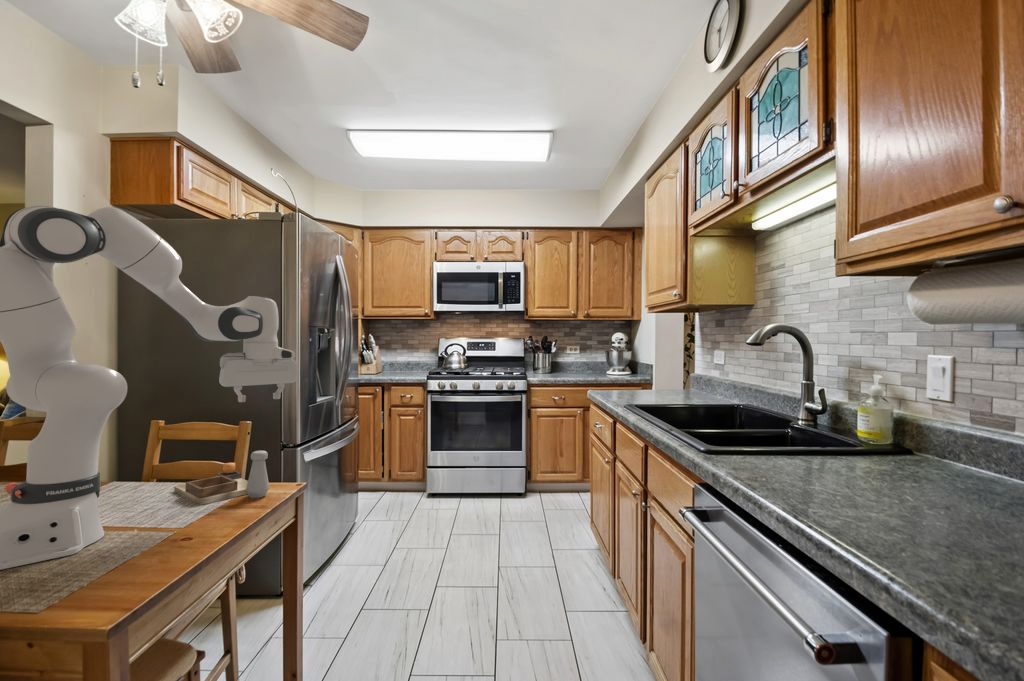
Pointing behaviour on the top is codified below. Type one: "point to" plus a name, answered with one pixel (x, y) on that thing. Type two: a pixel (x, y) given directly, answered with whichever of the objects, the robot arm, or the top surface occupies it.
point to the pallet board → (214, 488)
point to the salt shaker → (258, 476)
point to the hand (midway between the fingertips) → (259, 400)
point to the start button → (228, 467)
